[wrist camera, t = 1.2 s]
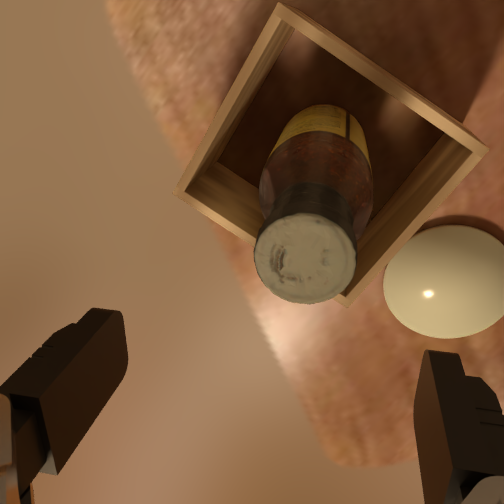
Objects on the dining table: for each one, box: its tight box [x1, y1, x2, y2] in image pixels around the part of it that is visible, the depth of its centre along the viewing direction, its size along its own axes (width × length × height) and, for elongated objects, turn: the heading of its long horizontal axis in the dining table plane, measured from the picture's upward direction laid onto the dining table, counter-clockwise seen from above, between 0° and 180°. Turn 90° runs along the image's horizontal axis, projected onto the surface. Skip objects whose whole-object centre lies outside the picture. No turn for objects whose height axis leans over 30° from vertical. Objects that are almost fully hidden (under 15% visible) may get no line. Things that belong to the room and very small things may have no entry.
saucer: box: [383, 224, 504, 338], centre depth 38 cm, size 10×10×1 cm
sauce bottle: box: [254, 104, 374, 304], centre depth 27 cm, size 7×6×20 cm
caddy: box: [173, 2, 490, 308], centre depth 32 cm, size 14×13×8 cm
